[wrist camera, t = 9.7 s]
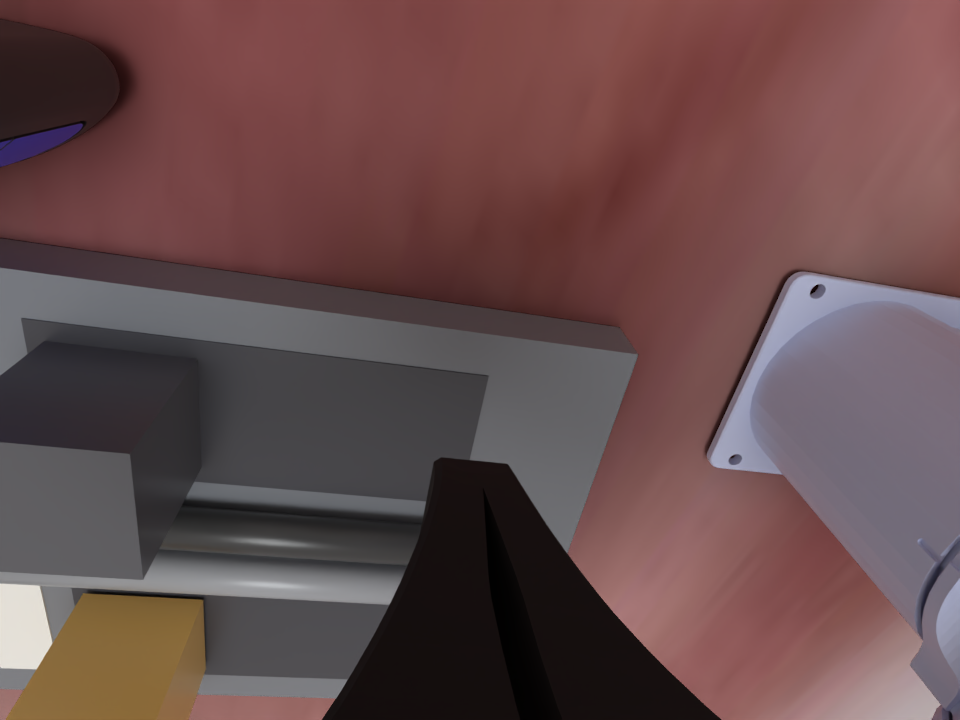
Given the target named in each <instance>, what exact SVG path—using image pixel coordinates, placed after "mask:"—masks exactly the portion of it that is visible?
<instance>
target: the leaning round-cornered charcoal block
mask: <svg viewBox="0 0 960 720" xmlns="http://www.w3.org/2000/svg"><path fill="white" fill-rule="evenodd" d="M119 89H120V85H119V78H118V75H117V72H116V70H115V68H114V66H113V64H112V63H111V61H110V60H109V59H108V57H107V56H106V55H105V54H104V53H103V52H102V51H101V50H99V49H98V48H97V47H95V46H94V45H92V44H91V43H89V42H87V41H85V40H82V39H80V38H77V37H74V36H71V35H68V34H64V33H61V32H57V31H53V30H48V29H44V28H40V27H35V26H31V25H26V24H21V23H17V22H12V21H7V20H3V19H0V167H2V166H6V165H9V164H12V163H15V162H19V161H22V160H25V159H28V158H31V157H34V156H37V155H39V154H42V153H45V152H47V151H49V150H51V149H54V148H56V147H58V146H60V145H62V144H65V143H66V142H68V141H70V140H72V139H74V138H76V137H78V136H79V135H81V134H83V133H84V132H86V131H87V130H89V129H90V128H91V127H93V126H94V125H95V124H96V123H98V122H99V121H100V120H101V119H102V118H103V117H104V116H105V115H106V114H107V113H108V112H109V111H110V109H111V108H112V107H113V105H114V104H115V102H116V101H117V98H118V95H119Z"/></svg>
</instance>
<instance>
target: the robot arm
mask: <svg viewBox="0 0 960 720" xmlns="http://www.w3.org/2000/svg"><path fill="white" fill-rule="evenodd" d="M817 284H819V285H818V289H817V290H816V291H815V292H814V293H812V294H810V291H811V289H812V288H813V287H814V286H816V285H817ZM735 454H736V456H735V457H733V458H731V459H729V458H730V457H731V456H733V455H735ZM707 458H708V460H709V462H710V463H711V464H712V465H713V466H714V467H717V468H724V469H733V470H743V471H752V472H762V473H772V474H781V475H784V476H785V477H786V479H787V480H788V481H789V482H790V483H791V485H792V486H793V487H794V488H795V489H796V491H797V492H798V493H799V494H800V495H801V497H802V498H803V499H804V500H805V501H806V502H807V504H808V505H809V506H810V507H811V508H812V510H813V511H814V512H815V513H816V514H817V516H818V517H819V518H820V519H821V520H822V522H823V523H824V524H825V525H826V526H827V527H828V529H829V530H830V531H831V532H832V533H833V535H834V536H835V537H836V538H837V539H838V541H839V542H840V543H841V544H842V545H843V547H844V548H845V549H846V550H847V551H848V552H849V554H850V555H851V556H852V557H853V558H854V560H855V561H856V562H857V563H858V564H859V566H860V567H861V568H862V569H863V570H864V572H865V573H866V574H867V575H868V576H869V577H870V579H871V580H872V581H873V582H874V583H875V585H876V586H877V587H878V588H879V589H880V591H881V592H882V593H883V594H884V595H885V597H886V598H887V599H888V600H889V601H890V602H891V604H892V605H893V606H894V607H895V608H896V610H897V611H898V612H899V613H900V614H901V616H902V617H903V618H904V619H905V620H906V622H907V623H908V624H909V625H910V626H911V627H912V629H913V630H914V631H915V632H916V633H917V635H918V636H919V637H920V638H921V639H922V641H923V642H922V646H921V648H920V650H919V652H918V653H917V655H916V656H915V657H914V659H913V660H912V661H911V663H910V666H911V667H912V669H913V670H914V671H915V672H916V674H917V675H918V676H919V677H920V679H921V680H922V681H923V682H924V684H925V685H926V686H927V688H928V689H929V690H930V691H931V693H932V694H933V695H934V696H935V698H936V699H937V700H938V701H939V703H940V704H941V705H940V706H939V707H938V708H937V709H936V712H935V714H934V716H933V718H932V720H960V298H958V297H952V296H946V295H940V294H934V293H928V292H922V291H916V290H911V289H905V288H899V287H893V286H887V285H881V284H875V283H870V282H864V281H858V280H852V279H846V278H840V277H834V276H829V275H823V274H817V273H811V272H805V271H804V272H797V273H795V274H793V275H792V276H790V277H789V278H788V280H787V281H786V283H785V284H784V287H783V289H782V291H781V293H780V295H779V297H778V300H777V302H776V304H775V306H774V308H773V311H772V313H771V315H770V317H769V319H768V321H767V324H766V326H765V328H764V330H763V332H762V334H761V337H760V339H759V341H758V343H757V345H756V347H755V350H754V352H753V354H752V356H751V358H750V361H749V363H748V365H747V367H746V369H745V371H744V374H743V376H742V378H741V380H740V382H739V384H738V387H737V389H736V391H735V393H734V395H733V398H732V400H731V402H730V404H729V406H728V408H727V411H726V413H725V415H724V417H723V419H722V421H721V424H720V426H719V428H718V430H717V432H716V435H715V437H714V439H713V441H712V443H711V445H710V448H709V450H708V452H707ZM322 720H721V719H720V718H719V717H718V716H717V715H715V714H714V713H713V712H712V711H711V710H710V709H709V708H707V707H706V706H705V705H704V704H703V703H702V702H701V701H700V700H699V699H698V698H697V697H696V696H695V695H694V694H693V693H691V692H690V691H689V690H688V689H687V688H686V687H685V686H684V685H683V684H682V683H681V682H680V681H679V680H678V679H677V678H676V677H675V676H673V675H672V674H671V673H670V672H669V671H668V670H667V669H666V668H665V667H664V666H663V665H662V664H661V663H660V662H659V661H658V660H657V659H656V658H655V657H654V656H653V655H652V654H651V653H650V652H649V651H648V650H647V649H646V647H645V646H644V645H643V644H642V643H641V642H640V641H639V640H638V639H637V638H636V637H635V636H634V634H633V633H632V632H631V631H630V630H629V629H628V628H627V627H626V626H625V625H624V624H623V623H622V621H621V620H620V619H619V618H618V617H617V616H616V615H615V614H614V613H613V611H612V610H611V609H610V608H609V607H608V605H607V604H606V603H605V602H604V601H603V599H602V598H601V597H600V596H599V594H598V593H597V592H596V591H595V589H594V588H593V587H592V586H591V584H590V583H589V582H588V581H587V579H586V578H585V577H584V575H583V574H582V573H581V571H580V570H579V569H578V567H577V566H576V565H575V563H574V562H573V561H572V559H571V558H570V557H569V555H568V554H567V552H566V551H565V550H564V548H563V547H562V545H561V544H560V543H559V541H558V540H557V538H556V537H555V536H554V534H553V533H552V531H551V530H550V528H549V527H548V525H547V524H546V522H545V521H544V519H543V518H542V516H541V515H540V513H539V512H538V510H537V509H536V507H535V506H534V504H533V503H532V501H531V499H530V498H529V496H528V495H527V493H526V491H525V490H524V488H523V487H522V485H521V483H520V482H519V480H518V479H517V477H516V475H515V474H514V472H513V471H512V469H511V468H510V466H509V465H508V464H505V463H495V462H485V461H475V460H464V459H454V458H444V457H441V458H439V459H437V460H436V461H434V463H433V468H432V474H431V479H430V484H429V489H428V494H427V499H426V505H425V510H424V515H423V520H422V525H421V531H420V535H419V538H418V541H417V544H416V546H415V549H414V551H413V553H412V556H411V558H410V561H409V563H408V565H407V568H406V570H405V572H404V575H403V577H402V579H401V582H400V584H399V586H398V588H397V590H396V592H395V594H394V597H393V599H392V601H391V603H390V605H389V607H388V609H387V611H386V613H385V615H384V616H383V618H382V620H381V622H380V624H379V626H378V628H377V630H376V632H375V634H374V635H373V637H372V639H371V641H370V642H369V644H368V646H367V648H366V649H365V651H364V653H363V655H362V656H361V658H360V660H359V662H358V663H357V665H356V667H355V669H354V670H353V672H352V674H351V675H350V677H349V679H348V680H347V682H346V683H345V685H344V687H343V688H342V690H341V692H340V693H339V695H338V696H337V698H336V699H335V701H334V702H333V704H332V705H331V707H330V708H329V710H328V711H327V713H326V714H325V716H324V717H323V719H322Z"/></svg>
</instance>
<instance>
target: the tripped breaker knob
mask: <svg viewBox="0 0 960 720" xmlns="http://www.w3.org/2000/svg"><path fill="white" fill-rule="evenodd" d="M205 670H206V660H205V635H204V609H203V600H198V599H179V598H160V597H141V596H123V595H104V594H85V593H83V595H82V596H81V598H80V599H79V601H78V603H77V604H76V606H75V608H74V609H73V611H72V613H71V614H70V616H69V617H68V619H67V621H66V622H65V624H64V626H63V627H62V629H61V630H60V632H59V634H58V635H57V637H56V639H55V640H54V642H53V643H52V645H51V647H50V648H49V650H48V652H47V653H46V655H45V656H44V658H43V660H42V661H41V663H40V665H39V666H38V668H37V669H36V671H35V673H34V674H33V676H32V678H31V679H30V681H29V682H28V684H27V686H26V687H25V689H24V691H23V692H22V694H21V695H20V697H19V699H18V700H17V702H16V704H15V705H14V707H13V708H12V710H11V712H10V713H9V715H8V717H7V718H6V720H188V719H189V716H190V713H191V711H192V708H193V705H194V702H195V699H196V696H197V693H198V690H199V687H200V684H201V681H202V679H203V676H204V673H205Z"/></svg>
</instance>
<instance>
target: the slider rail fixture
mask: <svg viewBox="0 0 960 720" xmlns="http://www.w3.org/2000/svg"><path fill="white" fill-rule="evenodd" d="M637 357H638V353H637V352H636V350H635V349H634V348H633V346H632V345H631V343H630V342H629V340H628V339H627V338H626V336H625V335H624V333H623V332H622V330H621V329H620V328H619V327H614V326H607V325H600V324H593V323H586V322H579V321H572V320H566V319H559V318H552V317H545V316H538V315H531V314H524V313H517V312H510V311H503V310H496V309H489V308H482V307H475V306H468V305H461V304H454V303H447V302H440V301H433V300H426V299H420V298H413V297H406V296H399V295H392V294H385V293H378V292H371V291H364V290H357V289H350V288H343V287H336V286H329V285H322V284H315V283H308V282H301V281H294V280H287V279H280V278H274V277H267V276H260V275H253V274H246V273H239V272H232V271H225V270H218V269H211V268H204V267H197V266H190V265H183V264H176V263H169V262H162V261H155V260H148V259H141V258H135V257H128V256H121V255H114V254H107V253H100V252H93V251H86V250H79V249H72V248H65V247H58V246H51V245H44V244H37V243H30V242H23V241H16V240H9V239H2V238H0V689H20V690H24V689H25V687H26V686H27V684H28V682H29V681H30V679H31V678H32V676H33V674H34V673H35V671H36V669H37V668H38V666H39V665H40V663H41V661H42V660H43V658H44V656H45V655H46V653H47V652H48V650H49V648H50V647H51V645H52V643H53V642H54V640H55V639H56V637H57V635H58V634H59V632H60V630H61V629H62V627H63V626H64V624H65V622H66V621H67V619H68V617H69V616H70V614H71V613H72V611H73V609H74V608H75V606H76V604H77V603H78V601H79V599H80V598H81V596H82V595H83V593H85V594H104V595H123V596H141V597H160V598H179V599H198V600H203V609H204V635H205V660H206V670H205V673H204V676H203V679H202V681H201V684H200V687H199V690H198V693H197V694H200V695H237V696H273V697H309V698H337V696H338V695H339V693H340V692H341V690H342V688H343V687H344V685H345V683H346V682H347V680H348V679H349V677H350V675H351V674H352V672H353V670H354V669H355V667H356V665H357V663H358V662H359V660H360V658H361V656H362V655H363V653H364V651H365V649H366V648H367V646H368V644H369V642H370V641H371V639H372V637H373V635H374V634H375V632H376V630H377V628H378V626H379V624H380V622H381V620H382V618H383V616H384V615H385V613H386V611H387V609H388V607H389V605H390V603H391V601H392V599H393V597H394V594H395V592H396V590H397V588H398V586H399V584H400V582H401V579H402V577H403V575H404V572H405V570H406V568H407V565H408V563H409V561H410V558H411V556H412V553H413V551H414V549H415V546H416V544H417V541H418V538H419V535H420V531H421V525H422V520H423V515H424V510H425V505H426V499H427V494H428V489H429V484H430V479H431V474H432V468H433V463H434V461H436V460H437V459H439V458H441V457H444V458H454V459H464V460H475V461H485V462H495V463H505V464H508V465H509V466H510V468H511V469H512V471H513V472H514V474H515V475H516V477H517V479H518V480H519V482H520V483H521V485H522V487H523V488H524V490H525V491H526V493H527V495H528V496H529V498H530V499H531V501H532V503H533V504H534V506H535V507H536V509H537V510H538V512H539V513H540V515H541V516H542V518H543V519H544V521H545V522H546V524H547V525H548V527H549V528H550V530H551V531H552V533H553V534H554V536H555V537H556V538H557V540H558V541H559V543H560V544H561V545H562V547H563V548H564V550H565V551H566V552H567V553H568V550H569V547H570V544H571V542H572V539H573V536H574V533H575V530H576V528H577V525H578V522H579V519H580V516H581V514H582V511H583V508H584V505H585V502H586V500H587V497H588V494H589V491H590V488H591V486H592V483H593V480H594V477H595V475H596V472H597V469H598V466H599V463H600V461H601V458H602V455H603V452H604V449H605V447H606V444H607V441H608V438H609V435H610V433H611V430H612V427H613V424H614V421H615V419H616V416H617V413H618V410H619V407H620V405H621V402H622V399H623V396H624V393H625V391H626V388H627V385H628V382H629V380H630V377H631V374H632V371H633V368H634V366H635V363H636V360H637Z"/></svg>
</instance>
